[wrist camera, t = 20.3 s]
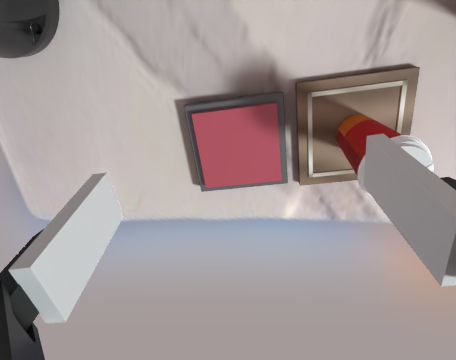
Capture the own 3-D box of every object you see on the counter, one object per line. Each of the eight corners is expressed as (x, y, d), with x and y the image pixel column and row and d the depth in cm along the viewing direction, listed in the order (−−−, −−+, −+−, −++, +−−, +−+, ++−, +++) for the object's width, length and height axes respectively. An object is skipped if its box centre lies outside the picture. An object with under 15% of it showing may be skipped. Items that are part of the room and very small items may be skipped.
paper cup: (367, 162, 46) (413, 213, 33) (320, 150, 45) (349, 197, 33) (393, 114, 42) (455, 150, 30) (342, 99, 41) (384, 130, 29)
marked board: (295, 82, 42) (297, 84, 41) (415, 66, 40) (420, 67, 39) (299, 182, 49) (300, 186, 48) (400, 172, 47) (404, 175, 46)
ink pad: (186, 104, 44) (183, 108, 42) (281, 91, 42) (283, 95, 40) (202, 186, 50) (200, 194, 48) (286, 178, 49) (288, 185, 46)
